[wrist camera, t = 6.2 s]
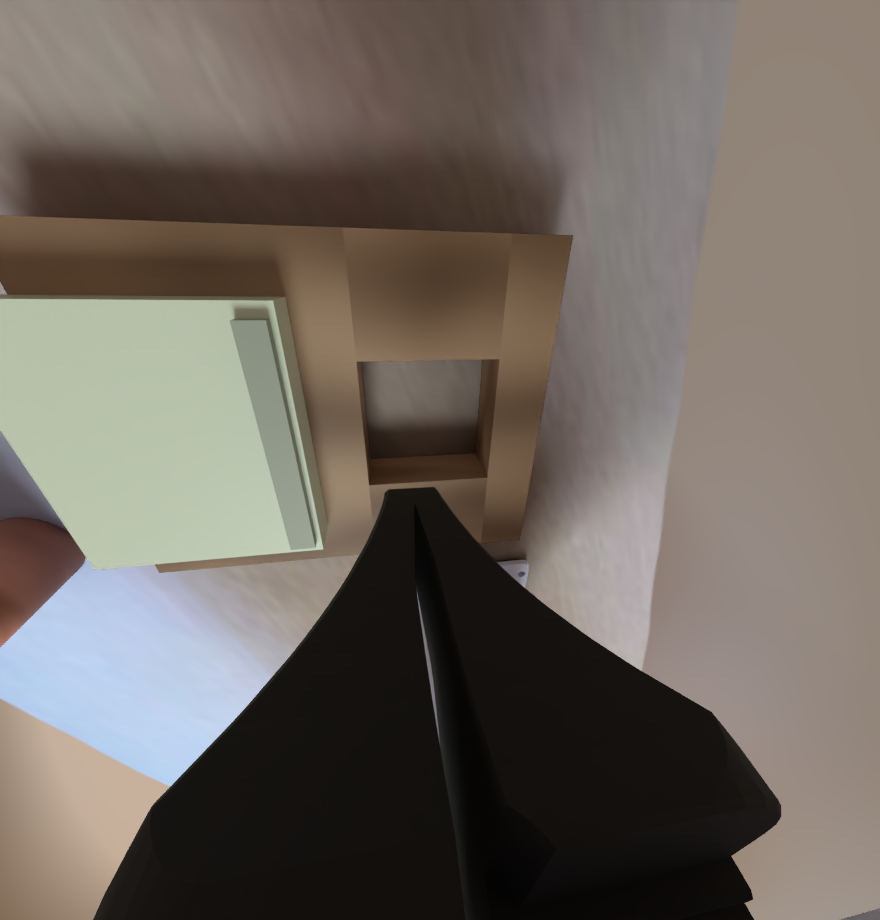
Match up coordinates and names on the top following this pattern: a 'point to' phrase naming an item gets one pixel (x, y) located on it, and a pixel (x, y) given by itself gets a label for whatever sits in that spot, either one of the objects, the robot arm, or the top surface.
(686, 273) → the top surface
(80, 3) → the top surface
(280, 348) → the cover
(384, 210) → the top surface
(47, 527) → the pin
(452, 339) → the board
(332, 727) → the robot arm
